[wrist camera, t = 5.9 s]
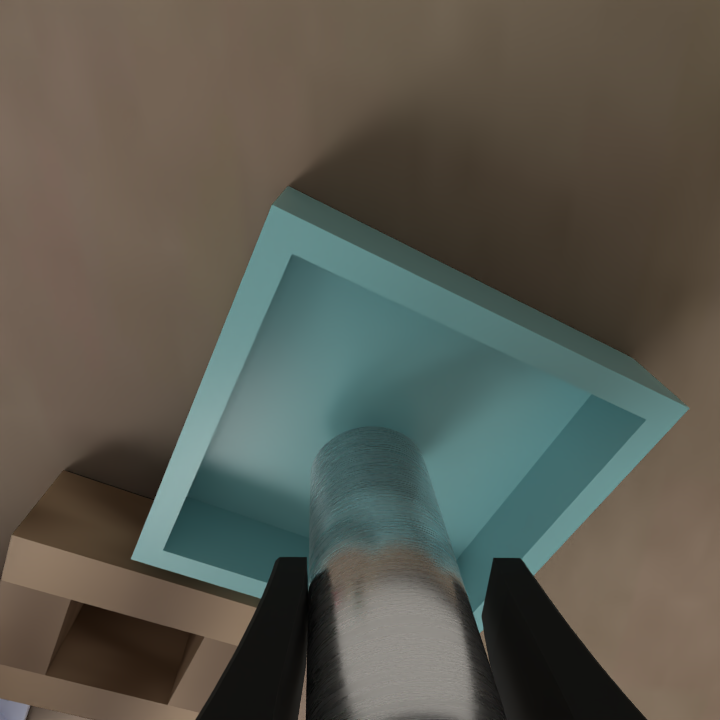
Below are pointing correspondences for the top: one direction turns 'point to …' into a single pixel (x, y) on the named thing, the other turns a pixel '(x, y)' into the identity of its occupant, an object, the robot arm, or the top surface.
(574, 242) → the top surface
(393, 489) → the steel pin
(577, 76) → the top surface
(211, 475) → the tray
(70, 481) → the hole block
